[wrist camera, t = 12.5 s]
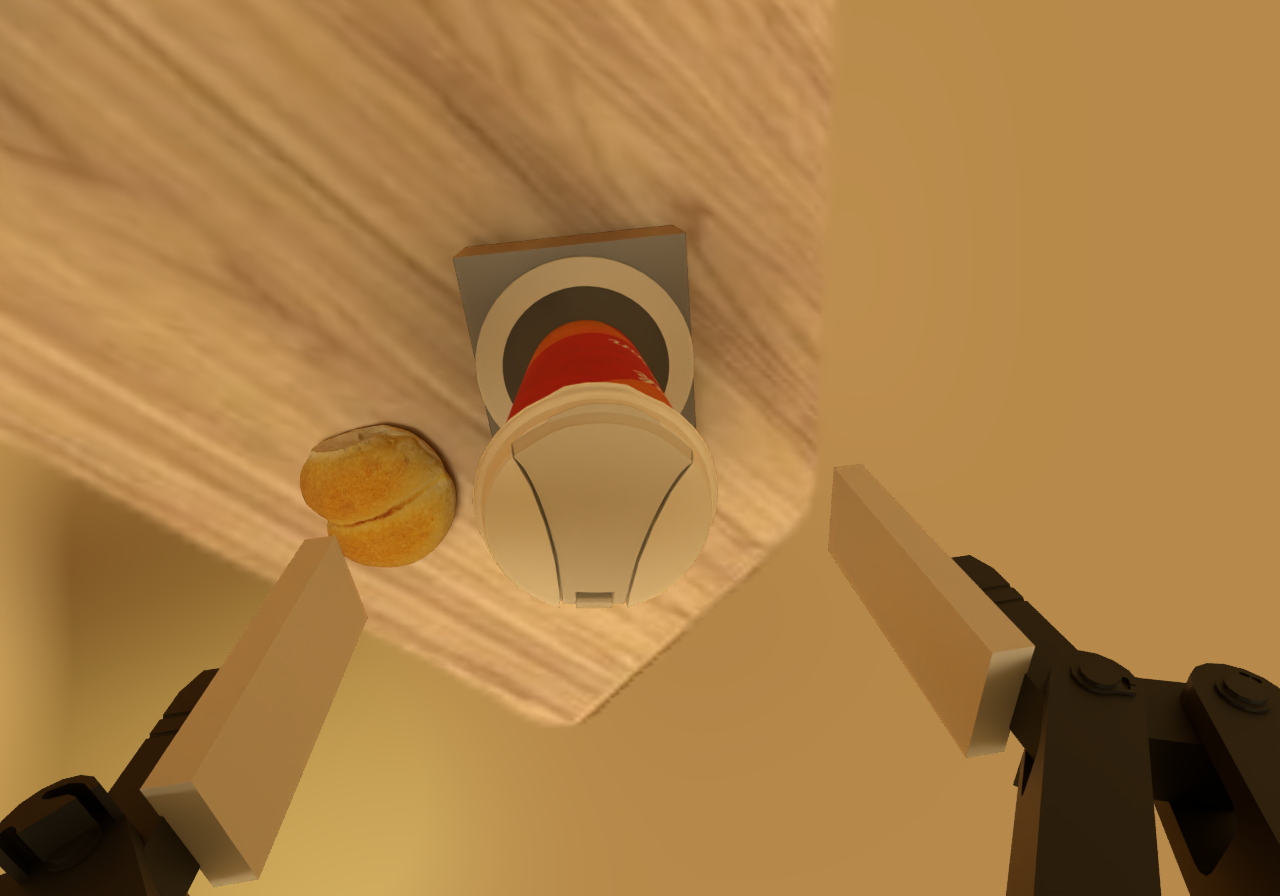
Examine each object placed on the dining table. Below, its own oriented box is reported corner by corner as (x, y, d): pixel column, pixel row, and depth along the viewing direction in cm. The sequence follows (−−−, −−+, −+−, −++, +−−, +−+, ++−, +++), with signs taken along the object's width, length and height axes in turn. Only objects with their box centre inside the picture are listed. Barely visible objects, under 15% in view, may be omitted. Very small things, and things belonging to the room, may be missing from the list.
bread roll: (360, 562, 39) (339, 602, 36) (291, 444, 35) (259, 476, 32) (480, 529, 39) (471, 566, 35) (425, 407, 35) (408, 435, 31)
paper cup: (654, 444, 32) (708, 624, 20) (509, 439, 31) (470, 626, 19) (669, 299, 29) (748, 404, 16) (508, 288, 28) (460, 392, 15)
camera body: (465, 247, 31) (444, 264, 26) (672, 224, 32) (693, 237, 26) (520, 505, 38) (512, 561, 33) (688, 483, 39) (707, 534, 34)
